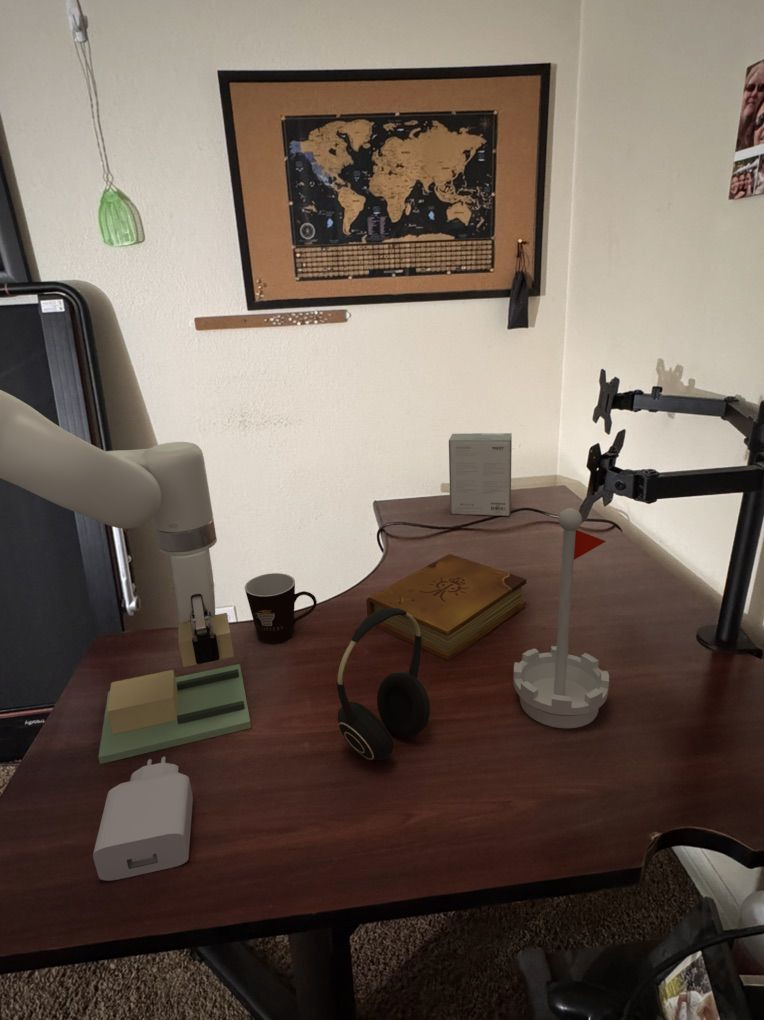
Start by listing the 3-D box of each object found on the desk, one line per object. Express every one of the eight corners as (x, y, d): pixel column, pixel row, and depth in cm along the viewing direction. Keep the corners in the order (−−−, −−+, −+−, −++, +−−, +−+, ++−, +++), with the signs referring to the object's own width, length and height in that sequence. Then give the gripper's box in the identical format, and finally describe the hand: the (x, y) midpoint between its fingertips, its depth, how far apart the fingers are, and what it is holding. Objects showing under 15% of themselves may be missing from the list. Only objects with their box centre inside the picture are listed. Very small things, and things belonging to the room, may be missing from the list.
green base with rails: (99, 764, 84) (91, 732, 82) (109, 697, 97) (102, 669, 95) (251, 728, 89) (246, 697, 87) (240, 669, 102) (236, 642, 101)
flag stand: (532, 739, 84) (542, 533, 74) (500, 681, 96) (504, 497, 86) (623, 726, 86) (646, 522, 75) (581, 670, 98) (595, 488, 87)
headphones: (445, 729, 87) (444, 601, 80) (368, 790, 77) (359, 651, 70) (400, 702, 93) (395, 581, 86) (323, 756, 83) (310, 624, 76)
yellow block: (183, 667, 88) (178, 643, 86) (182, 645, 93) (178, 621, 92) (234, 656, 90) (230, 632, 88) (230, 635, 95) (226, 612, 93)
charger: (196, 766, 82) (189, 864, 69) (122, 781, 81) (100, 883, 67) (191, 737, 81) (182, 831, 67) (115, 751, 79) (90, 850, 65)
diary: (446, 578, 129) (446, 552, 127) (525, 606, 117) (526, 578, 115) (367, 622, 114) (365, 594, 112) (448, 661, 102) (448, 630, 100)
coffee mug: (241, 638, 111) (234, 588, 108) (275, 617, 118) (269, 569, 114) (289, 658, 105) (283, 605, 101) (323, 634, 111) (318, 584, 108)
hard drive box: (511, 506, 166) (513, 433, 159) (509, 517, 159) (512, 440, 152) (452, 504, 170) (452, 432, 163) (449, 514, 163) (448, 439, 156)
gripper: (158, 517, 91) (179, 624, 98) (156, 565, 76) (181, 689, 82) (211, 509, 93) (228, 615, 100) (219, 554, 78) (238, 676, 84)
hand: (206, 647), depth 91 cm, fingers closed on yellow block, 6 cm apart
